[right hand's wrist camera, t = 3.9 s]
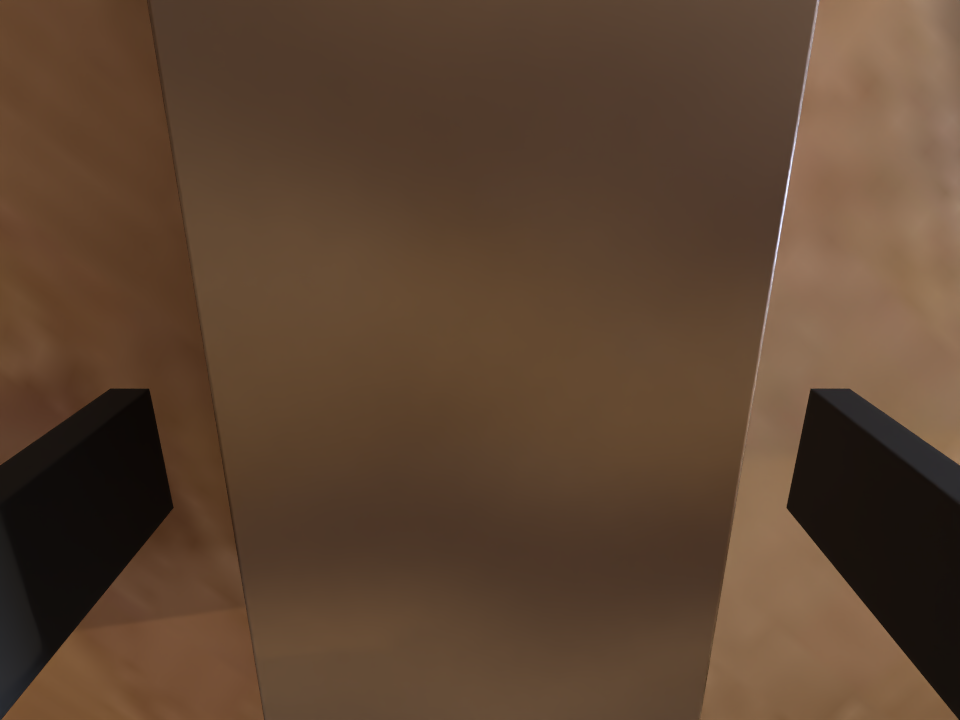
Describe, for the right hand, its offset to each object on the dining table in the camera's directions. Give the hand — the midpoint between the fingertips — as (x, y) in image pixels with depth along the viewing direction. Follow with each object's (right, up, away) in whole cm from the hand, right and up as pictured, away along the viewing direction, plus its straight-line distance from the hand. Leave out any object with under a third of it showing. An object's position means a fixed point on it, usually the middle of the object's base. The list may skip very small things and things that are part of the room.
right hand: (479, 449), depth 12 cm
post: (0, +33, -9) cm, 34 cm away
